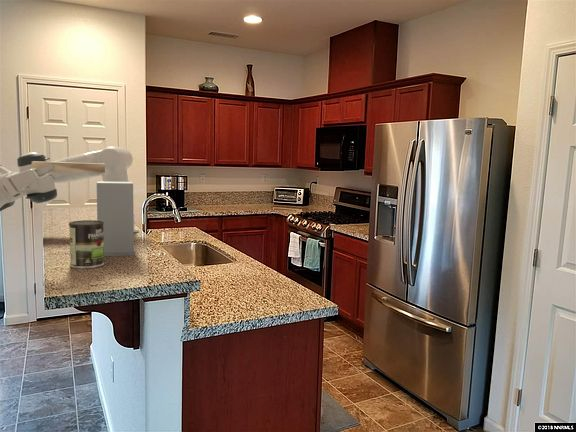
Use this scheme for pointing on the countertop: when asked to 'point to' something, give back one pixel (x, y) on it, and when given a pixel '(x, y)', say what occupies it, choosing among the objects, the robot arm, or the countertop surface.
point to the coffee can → (86, 244)
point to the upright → (116, 217)
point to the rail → (71, 166)
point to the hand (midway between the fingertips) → (54, 165)
